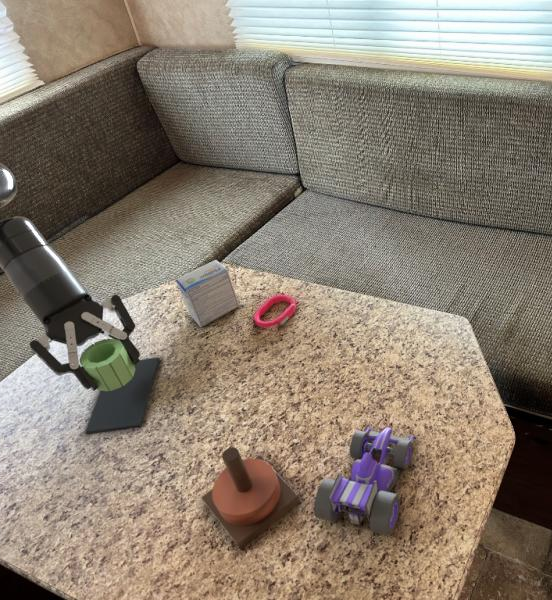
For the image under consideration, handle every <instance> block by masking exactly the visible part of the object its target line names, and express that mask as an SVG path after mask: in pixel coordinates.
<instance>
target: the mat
mask: <svg viewBox="0 0 552 600" xmlns="http://www.w3.org/2000/svg"><path fill="white" fill-rule="evenodd" d="M139 360H140V361H139V362H138V363H137V364H135V365H134V366H135V373H134V376H133V377H132V379H131V380H130V381H129V382H128V383H127V384H125V385H124V386H123V385H122V387H120V388H118V389H115V390H112V391H110V390H109V391H101V390H99V391H100V392H99V394H98V397H97V399H96V402H95V404H94V407H93V410H92V412H91V415H90V418H89V421H88V424H87V425H86V428H85V434H86V435H92V434H98V433H99V434H100V433H107V432H112V431H113V432H114V431H120V430H121V431H122V430H127V429H136V428H141V427H142V424H143V421H144V417H145V414H146V411H147V407H148V404H149V400H150V397H151V393H152V389H153V387H154V383H155V379H156V376H157V372H158V368H159V365H160V363H161V358H160V357H153V358H145V359H144V358H143V359H139Z"/></svg>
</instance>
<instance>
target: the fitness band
mask: <svg viewBox="0 0 552 600" xmlns="http://www.w3.org/2000/svg"><path fill="white" fill-rule="evenodd" d="M279 302H280V303H281V302H287V303H289V304H290V305H288V307H287V308H286V309H285V310H284V311H283V312H282V313H281V314H280V315H279V316H278V317H276V318H275V319H272V320H270V321H269V320H268V321H263V320H261V317H262V316H263V315H264V314H265V313H266V312H267V311H268V310H269V309H270V308H271V307H272V306H273V305H275V304H276V303H279ZM296 309H297V304H296V301H295V300H294V299H293V298H292V297H291V296H289V295H286V294H275V295H273V296H271V297H269V298H268V299H267V300H265V301H264V302H263V303H262V304H261V305H260V306H259V307H258V308H257V310H256V311H255V313H254V315H253V319H254V323H255V324H256V326H257V327H259V328H270V327H275V326H276V325H278V326H281V327H282V326H284V324H285V323H286V322H287V321H288V320H289V319H290V318H291V317H292V315H294V314H295V313H296V312H295V311H296Z"/></svg>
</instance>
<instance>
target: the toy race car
mask: <svg viewBox="0 0 552 600" xmlns="http://www.w3.org/2000/svg"><path fill="white" fill-rule="evenodd" d="M392 433H393V428H391V427H388V426H387V427H385V428H384V429H383V430H381V431H380V432H378V431H374V430H372V429H371V427H370V426H368V427H367V428H366V430H365V431H363V430H356V431H355V432H354V433H353V435H352V438H351V440H350V445H349V455H350V458H352V459H354V462H353V465H352V468H351V469H352V470H351V475H350V479H348V478H344V477H343V474H342V472H338V473H337V476H336V478H335V479H334V478H329V477H325V478H324V479H323V480H322V481H321V482H320V484H319V486H318V488H317V491H316V494H315V498H314V503H313V513H314V516H315V518H316V519H319V520H320V519H321V520H324V521H329V522H332V523H335V522H337V521H338V519H339V518H340V516H341V515H342V512H344V513H347V514H348V517H349V521H350V524H354V525H357V526H359V525H361V524H362V522H363V520H364V518H367V521H368V522H369V529H370V531H371V532H372V533H376V534H379V535H383V536H388V537H390V536H392V534H393V533H394V531H395V529H396V526H397V523H398V519H399V515H400V509H401V498H400V494H398V493H395V492H391V491H392V489H393V488H394V486H395V485H396V483H397V481H398V478H399V475H400V472H401V469H402V470H407V469H408V468H409V466H410V463H411V460H412V457H413V456H412V455H413V444H414V441H415V439H414V435H410V437H409V438H408V437H404V436H399V435H394V434H392ZM370 440H374V441H373V443H370ZM389 443H394V444H396V446H395V448H393V447H390V444H389ZM388 456H391V457H392V456H393V466H394V467H393V466H390V465H387V459H388ZM344 506H346V507H348V510H346V509H344Z"/></svg>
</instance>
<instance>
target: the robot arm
mask: <svg viewBox="0 0 552 600" xmlns="http://www.w3.org/2000/svg"><path fill="white" fill-rule="evenodd" d="M17 193H18V181H17V178H16V176H15V175H14V173H13V172H12V170H11V169H10V168H8V166H6V165H5V164H3V163H1V162H0V210H1V209H2V208H4V207H5V206H7V205H8V204H9V203H10V202H12V200H13V199H14V198H15V197H16V195H17ZM0 268H1V269H2V270H3V272H4V273H5V274H6V277H7V278H8V280H9V283H10V284H11V286H12V287H13V288H14V289H15V291H16V292H17V295H18V296H19V297H20V298H21V299H22V300H23V301H24V303H25V304H26V305H27V306H28V308H29V309H30V311H31V312H32V314H34V315H35V317H36V318H37V320H38V321H39V322H40V323H41V325H42V326H43V327H44V330H45V333H44V334H43V335H41V336H40V337H38V339H33V340H31V341H30V342H29V347H30V348H29V349H30V350H31V351H32V353H34V354H35V355H36V357H38V358H39V360H41V361H42V362H43V363H44V364H45V365H46V367H48V368H49V369H50V370H51V371H52V372H53V373H54V374H55V375H56V376H58V377H59V376H63V375H66V374H72V375H74V376H75V378H76V379H77V380H78V382H79V383H80V384H81V386H82V387H83V388H84V389H86V390H87V391H88V390H90V389H91V390H92V391H93V392H94V391H96V390H98V389H97V388H98V386H97V384H96V383H95V382H94V380H93V379H92V378H91V376H90V375H89V374H88V372H87V371H86V370H85V369H84V367H83V366H82V365H81V364H80V359H79V353H78V347H79V348H80V347H82V346H83V345H85V344H86V343H87V342H88V341H89V340H92V339H95V338H97V337H98V336H100V335H102V336H104V337H106V338H109V339H117V340H119V341H120V342H121V343H122V344H123V346H124V348H125V349H126V351H127V353H128V355H129V357H130V359H131V361H132V362H133V364H134V365H135V364H137V363H138V362H139V361H140V360H141V359H140V357H141V353H140V351H139V349H137V347H136V345H135V344H134V343H133V342H132V340H131V339H130V336H131V335H132V334H133V333H134V332H135V329H136V323H135V321H134V320H133V318H132V316H131V315H130V313H129V311H128V309H127V307H126V306H125V304H124V302H123V301H122V299H121V297H120V296H119V295H118V294H113V295H112V296H111V297H110V298H108V299H106V300H104V301H101V302H100V301H98V300H96V299H94V298H93V297H92V295H91V294H90V292H88V290H87V289H86V288H85V286H84V285H83V284H82V282H81V281H80V280H79V278H78V277H77V276H76V274H75V273H74V272H73V270H72V269H71V268H70V267H69V265H68V264H67V262H66V261H65V260H64V258H63V257H62V256H60V254H59V253H58V252H56V250H55V249H54V248H53V247H52V246H51V245H50V243H49V242H48V240H47V239H46V238H45V236H43V233H41V232H40V230H39V229H38V227H37V226H36V225H35V224H34V223H33V222H32V220H31V219H29V218H27V217H25V216H21V215H20V216H13V217H12V216H11V217H8V218H5V219H3V220H0ZM104 310H107V311H109V313H112V314H116V316H117V318H118V319H119V321H120V323H121V325H122V327H123V329H119V328H117V327H116V326H115V325H113V324H111V323H109V322H107V321H105V320H104V319H103V318H104ZM50 341H52V342H53V341H54V342H56V343H60V344H63V345H66V351H67V358H68V362H67V363H61V362H60V361H59V360H58V359H57V358H56V357H55V356H54V355H53V354H52V353H51V352H50V350H51V344H50Z"/></svg>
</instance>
